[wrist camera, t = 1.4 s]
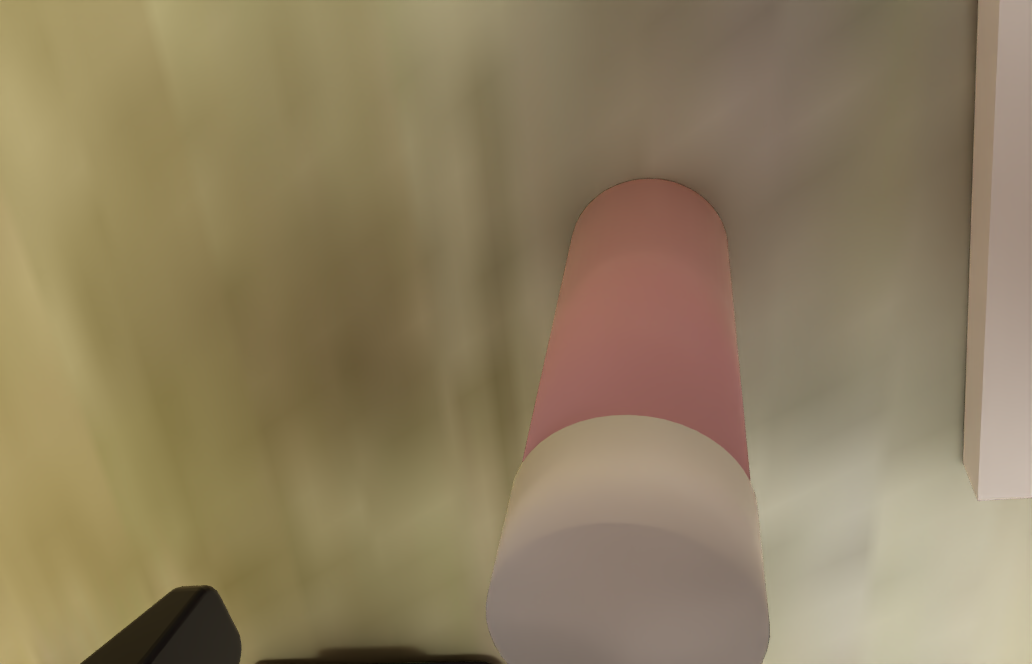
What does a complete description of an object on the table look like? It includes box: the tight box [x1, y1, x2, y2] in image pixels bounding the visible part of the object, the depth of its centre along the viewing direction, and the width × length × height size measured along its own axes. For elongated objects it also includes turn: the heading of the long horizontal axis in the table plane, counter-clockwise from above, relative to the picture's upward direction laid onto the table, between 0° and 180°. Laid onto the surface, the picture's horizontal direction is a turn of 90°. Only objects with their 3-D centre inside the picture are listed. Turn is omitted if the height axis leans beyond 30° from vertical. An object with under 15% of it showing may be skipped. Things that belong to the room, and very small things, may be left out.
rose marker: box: [486, 179, 770, 664], centre depth 12 cm, size 3×3×8 cm
